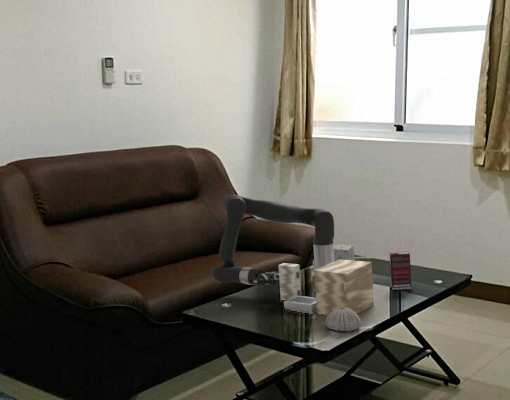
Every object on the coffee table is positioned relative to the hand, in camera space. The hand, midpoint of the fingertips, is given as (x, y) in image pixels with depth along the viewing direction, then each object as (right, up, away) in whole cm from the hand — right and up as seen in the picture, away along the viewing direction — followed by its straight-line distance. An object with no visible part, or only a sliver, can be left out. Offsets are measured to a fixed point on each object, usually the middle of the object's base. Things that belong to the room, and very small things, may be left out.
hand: (282, 279), depth 342 cm
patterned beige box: (+24, -10, -18) cm, 32 cm away
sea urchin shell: (+22, -14, -42) cm, 49 cm away
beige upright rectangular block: (+4, -9, -1) cm, 10 cm away
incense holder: (+32, +1, +53) cm, 62 cm away
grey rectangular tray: (+9, -11, -15) cm, 20 cm away
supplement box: (+53, -5, +7) cm, 53 cm away
